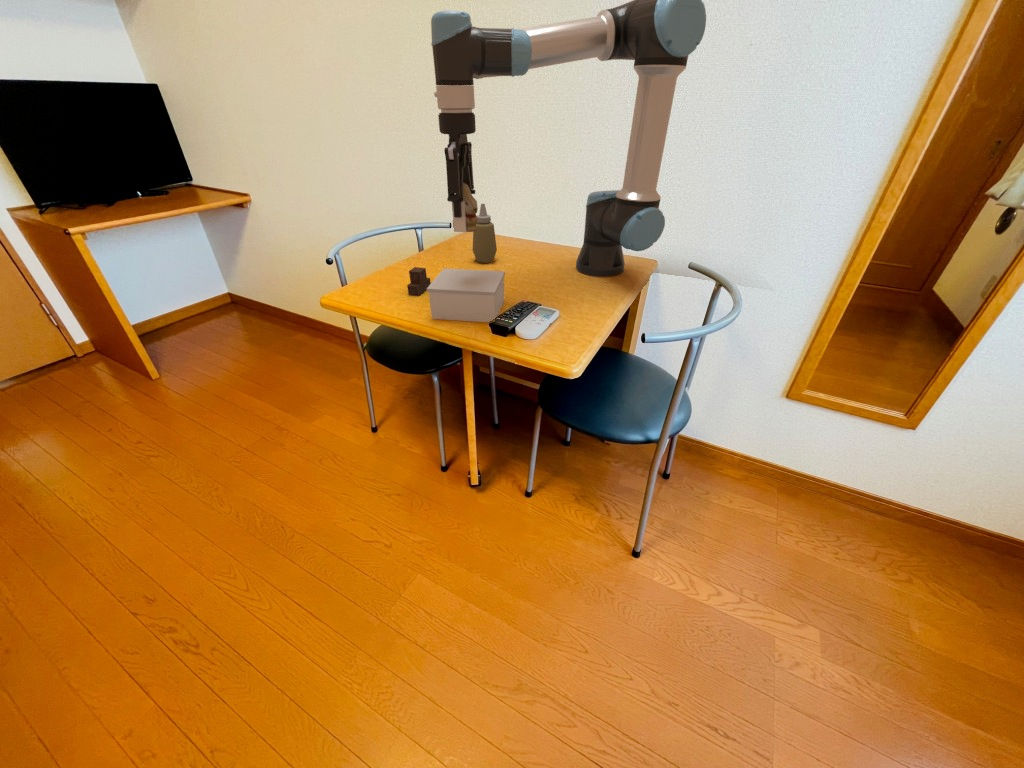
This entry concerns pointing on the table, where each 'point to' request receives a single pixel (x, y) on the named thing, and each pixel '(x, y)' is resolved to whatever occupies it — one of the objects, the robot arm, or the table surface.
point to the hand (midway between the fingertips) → (464, 227)
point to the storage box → (467, 295)
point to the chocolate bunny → (469, 209)
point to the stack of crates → (418, 281)
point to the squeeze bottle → (484, 238)
